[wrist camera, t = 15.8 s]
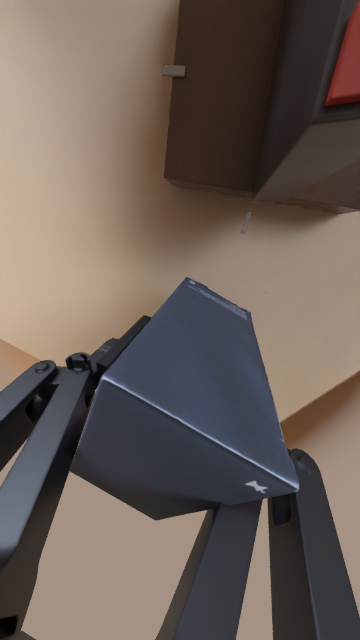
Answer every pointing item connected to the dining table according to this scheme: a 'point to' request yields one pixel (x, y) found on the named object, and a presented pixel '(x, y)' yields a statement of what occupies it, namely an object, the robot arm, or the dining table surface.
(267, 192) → the frame
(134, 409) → the small box
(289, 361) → the dining table surface
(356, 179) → the frame stand
